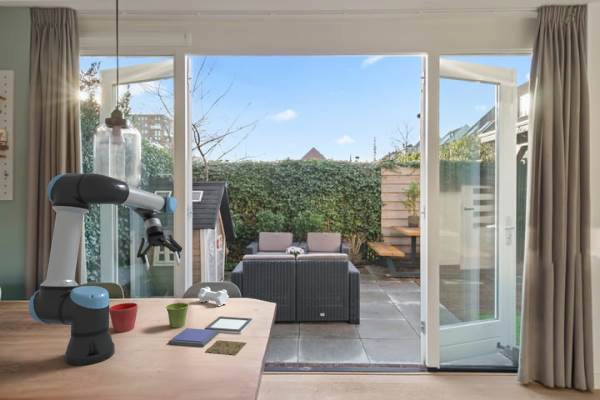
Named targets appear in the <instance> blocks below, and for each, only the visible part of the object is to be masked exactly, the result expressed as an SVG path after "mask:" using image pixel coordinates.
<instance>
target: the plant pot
mask: <svg viewBox="0 0 600 400" xmlns="http://www.w3.org/2000/svg"><path fill="white" fill-rule="evenodd" d="M189 306H190V305H189V303H187V302H175V303H169V304H167V305H166V306H165V309H166V312H167V316H168V322H169V327H170V328H171V327H172V329H174V328H176V329H179V328H178V327H180V328H183V327H184V326H185V325H186V318H187V312H188V309H189ZM182 326H183V327H182Z"/></svg>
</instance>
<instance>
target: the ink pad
mask: <svg viewBox="0 0 600 400" xmlns="http://www.w3.org/2000/svg"><path fill="white" fill-rule="evenodd" d="M219 334H220V332H219V330H206V329H205V328H193V327H192V328H191V327H187V328H185V329H184V330H182V331H181V332H179V333H178V334H176V335H175V336H174V337H172V338H171V339H169V340H168V345H174V344H176V345H177V346H187V345H188V346H189V347H200V348H204V347H205V346H206V345H208V344H209V343H210V342H211V341H212V340H213V339H214V338H216V337H217V335H219Z"/></svg>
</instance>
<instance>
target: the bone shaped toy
mask: <svg viewBox="0 0 600 400" xmlns="http://www.w3.org/2000/svg"><path fill="white" fill-rule="evenodd" d="M197 298H198V299H199V302H200V303H201V302H205V301H209V300H210V301H211V302H215V304H216V306H217V305H222V306H224V305H223V304H226V303H227V302H228V300H229V298H230V295H228V291H227V290H226V289H222V290H217V291H212V290H211V288H210V287H209V286H205V287H201V288H200V290H199V292H198V294H197ZM210 301H209V302H210ZM205 303H206V302H205ZM226 305H227V304H226Z"/></svg>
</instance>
